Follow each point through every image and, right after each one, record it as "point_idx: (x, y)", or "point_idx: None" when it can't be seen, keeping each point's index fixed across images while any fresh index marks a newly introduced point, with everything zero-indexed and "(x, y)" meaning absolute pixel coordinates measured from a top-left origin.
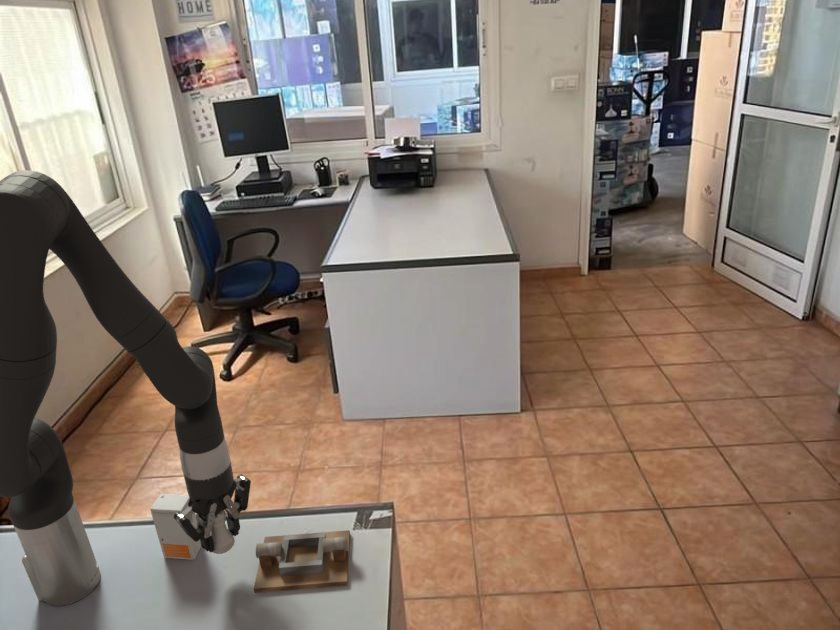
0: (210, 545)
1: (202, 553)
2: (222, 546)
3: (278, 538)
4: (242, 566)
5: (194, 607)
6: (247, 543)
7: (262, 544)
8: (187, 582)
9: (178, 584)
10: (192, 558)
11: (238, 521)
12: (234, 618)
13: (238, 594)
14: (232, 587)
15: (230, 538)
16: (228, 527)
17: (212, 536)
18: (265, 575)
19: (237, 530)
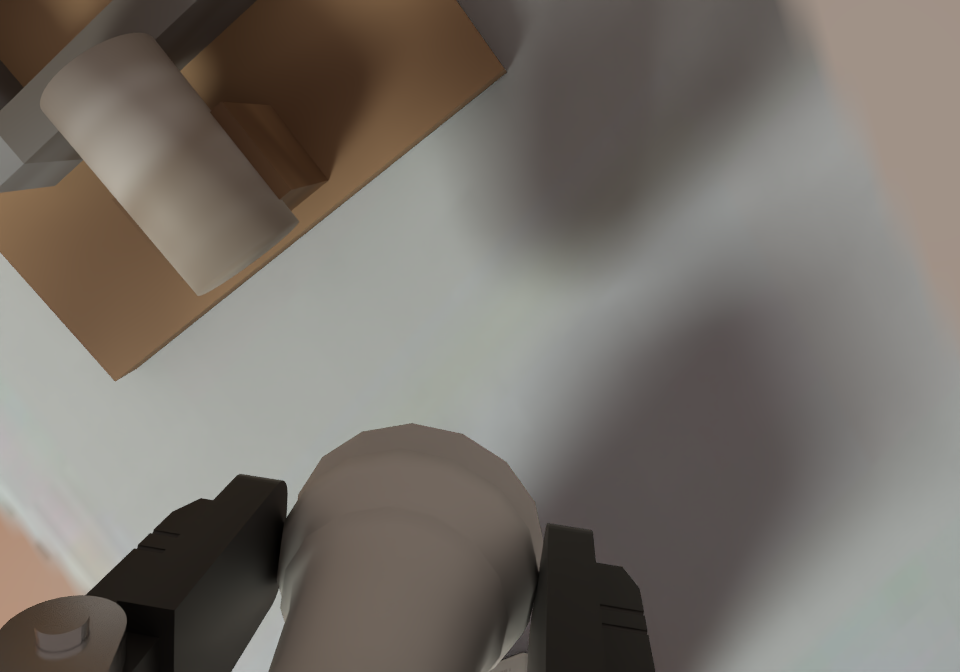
0: (592, 585)
1: None
2: (471, 487)
3: (57, 279)
4: (385, 340)
5: (816, 361)
6: (229, 459)
7: (174, 227)
8: (679, 554)
9: (720, 590)
10: None
11: (129, 566)
12: (760, 22)
13: (579, 172)
14: (556, 260)
15: (346, 491)
16: (258, 616)
17: (479, 663)
18: (359, 86)
19: (226, 499)
